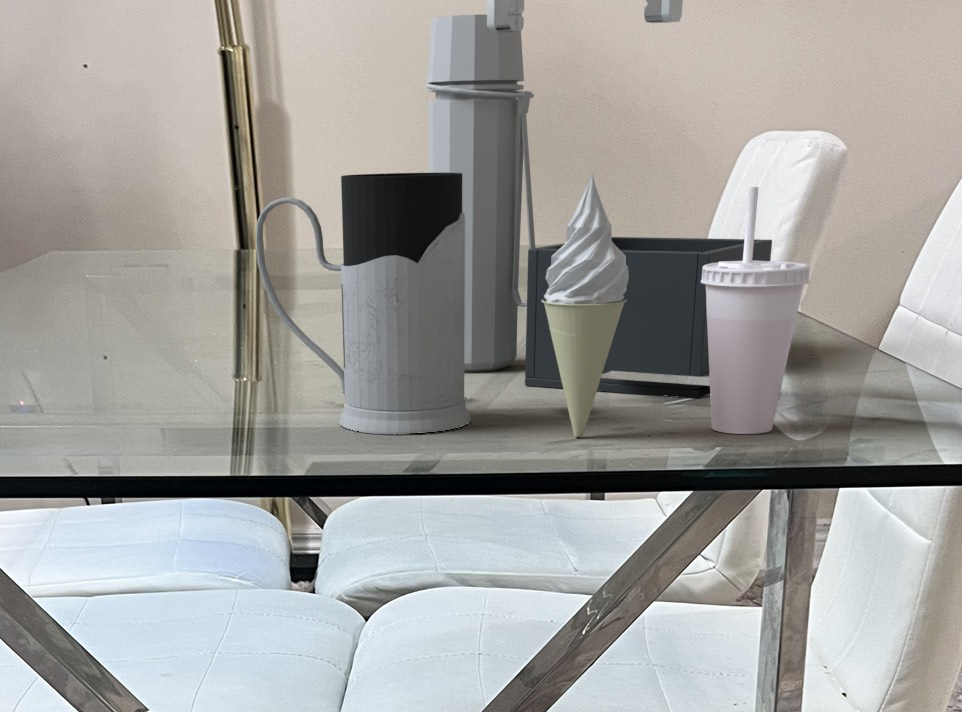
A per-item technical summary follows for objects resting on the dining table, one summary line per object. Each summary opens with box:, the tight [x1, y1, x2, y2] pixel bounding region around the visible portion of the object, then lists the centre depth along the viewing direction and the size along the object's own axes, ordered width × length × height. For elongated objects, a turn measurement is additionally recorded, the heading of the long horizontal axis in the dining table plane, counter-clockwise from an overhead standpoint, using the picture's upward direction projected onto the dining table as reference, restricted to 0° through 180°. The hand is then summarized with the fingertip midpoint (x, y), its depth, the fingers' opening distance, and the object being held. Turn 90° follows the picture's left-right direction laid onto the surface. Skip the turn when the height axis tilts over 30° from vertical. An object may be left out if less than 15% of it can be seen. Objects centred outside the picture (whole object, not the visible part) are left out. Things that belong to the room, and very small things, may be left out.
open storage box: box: [524, 236, 773, 400], centre depth 105 cm, size 14×14×10 cm
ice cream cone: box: [542, 172, 629, 438], centre depth 83 cm, size 5×5×15 cm
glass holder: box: [254, 172, 472, 435], centre depth 90 cm, size 9×14×15 cm, turn 73°
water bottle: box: [425, 14, 536, 373], centre depth 108 cm, size 9×8×25 cm
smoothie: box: [701, 186, 811, 435], centre depth 85 cm, size 6×6×14 cm
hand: (581, 27), depth 77 cm, fingers open, 8 cm apart
